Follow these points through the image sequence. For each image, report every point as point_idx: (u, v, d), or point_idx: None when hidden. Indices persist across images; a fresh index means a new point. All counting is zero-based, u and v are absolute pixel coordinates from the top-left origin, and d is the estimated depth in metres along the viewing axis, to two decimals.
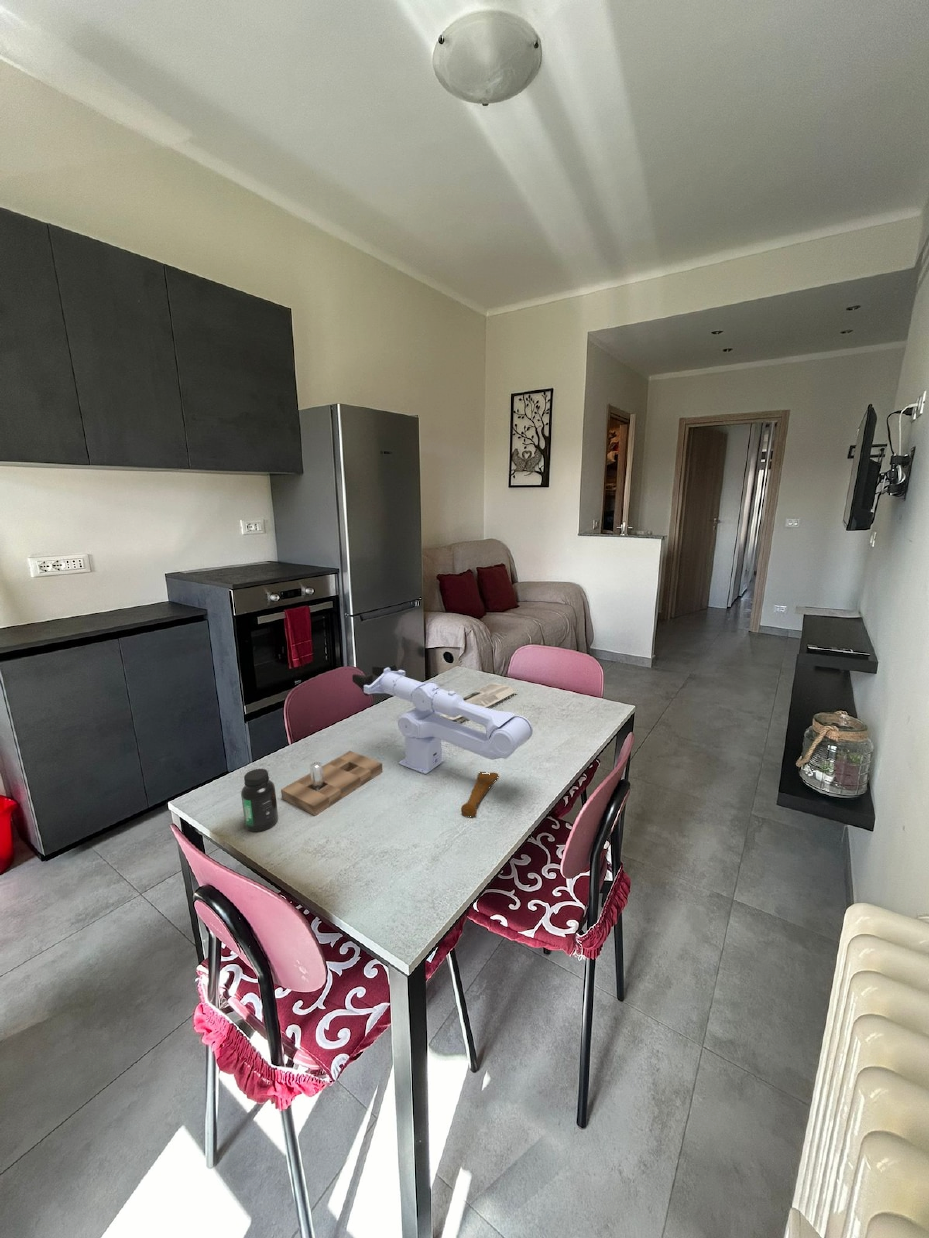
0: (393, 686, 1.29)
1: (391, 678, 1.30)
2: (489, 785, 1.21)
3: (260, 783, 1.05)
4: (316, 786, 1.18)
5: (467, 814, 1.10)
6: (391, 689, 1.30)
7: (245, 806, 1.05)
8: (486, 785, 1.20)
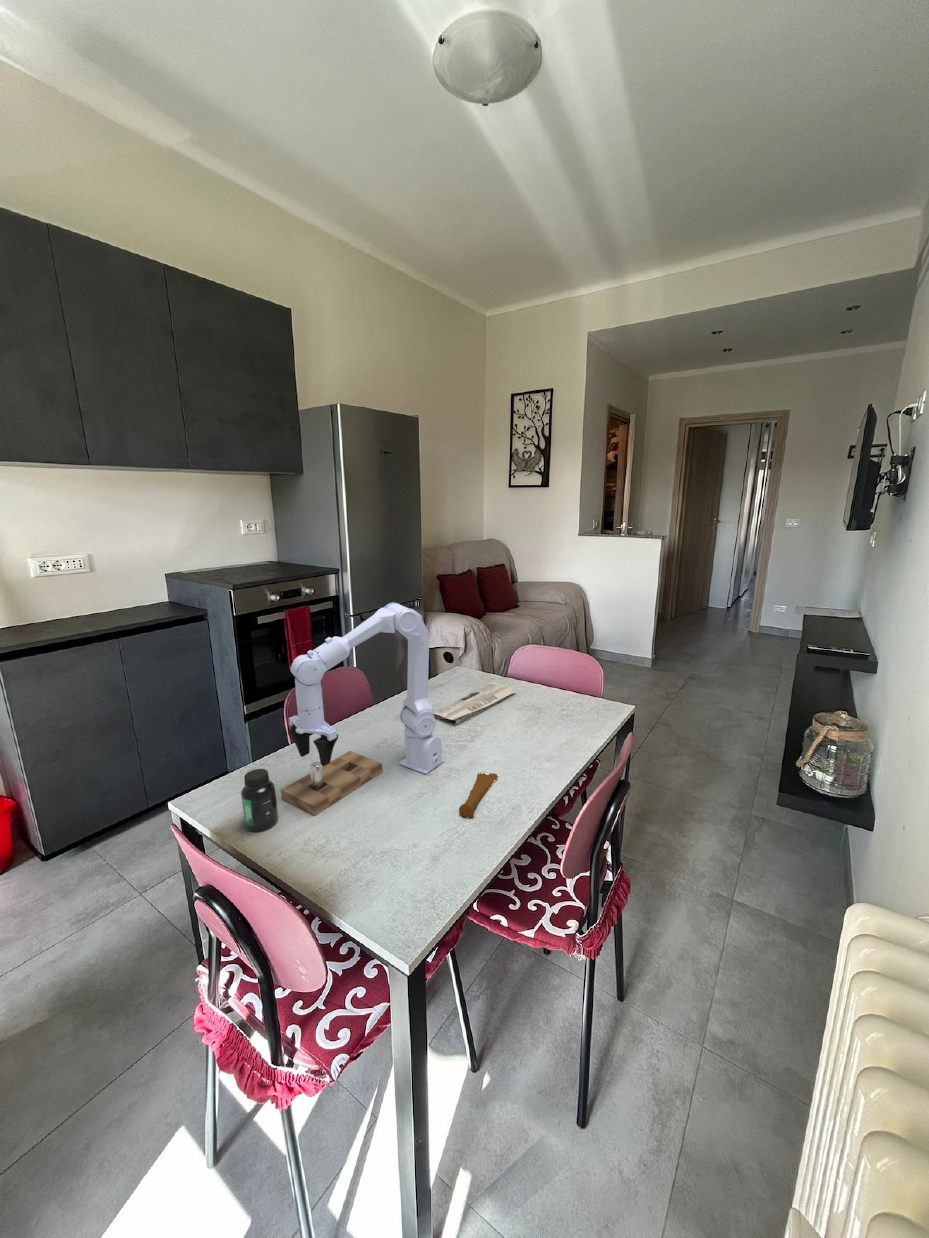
0: (314, 710, 1.12)
1: (307, 718, 1.12)
2: (488, 786, 1.21)
3: (260, 783, 1.05)
4: (316, 786, 1.18)
5: (465, 815, 1.10)
6: (318, 711, 1.13)
7: (245, 806, 1.05)
8: (485, 786, 1.20)
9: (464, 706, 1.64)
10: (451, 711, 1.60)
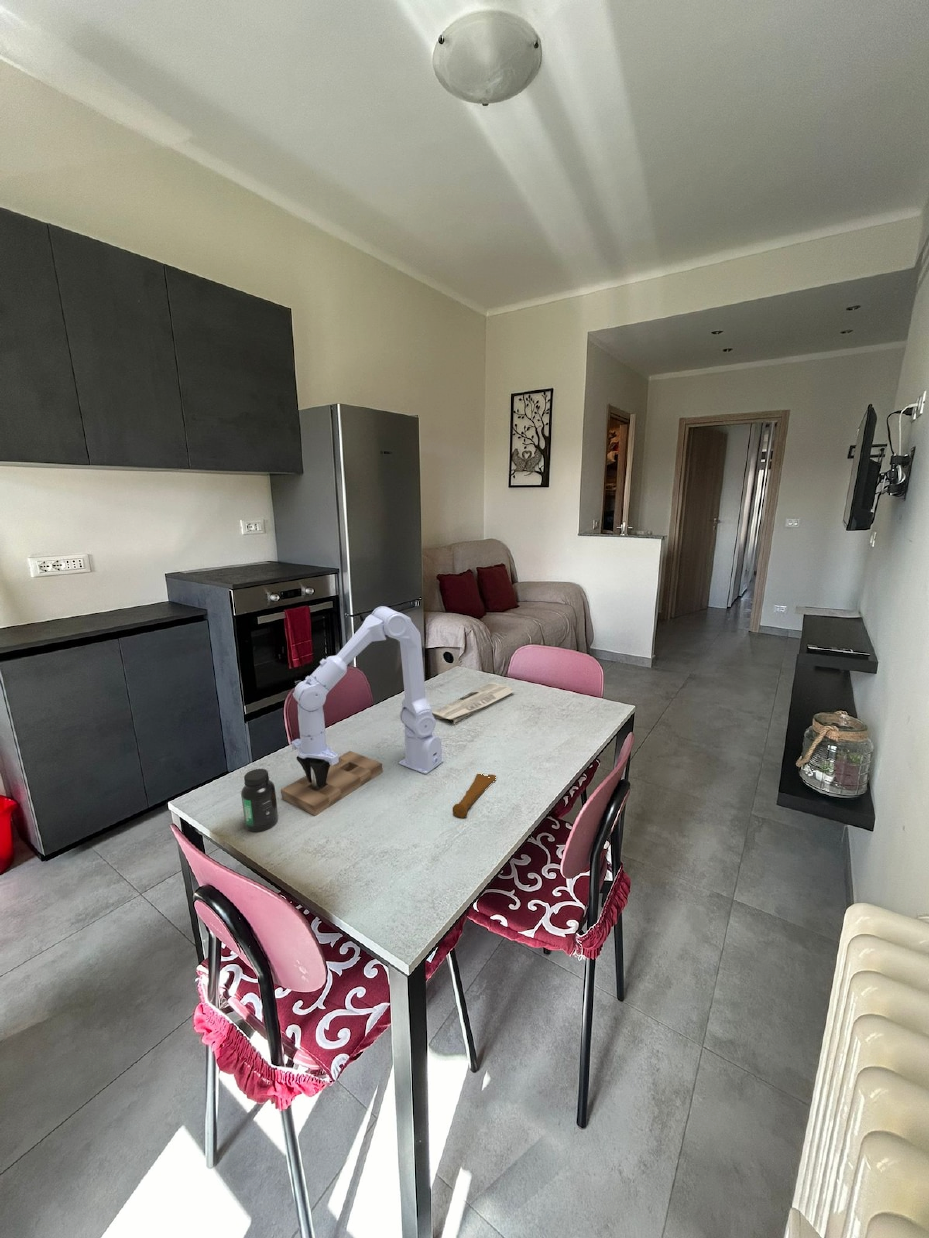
0: (316, 735, 1.13)
1: (309, 743, 1.13)
2: (485, 787, 1.20)
3: (260, 783, 1.05)
4: (316, 786, 1.18)
5: (458, 814, 1.10)
6: (321, 736, 1.14)
7: (245, 806, 1.05)
8: (482, 787, 1.20)
9: (463, 706, 1.64)
10: (450, 710, 1.60)
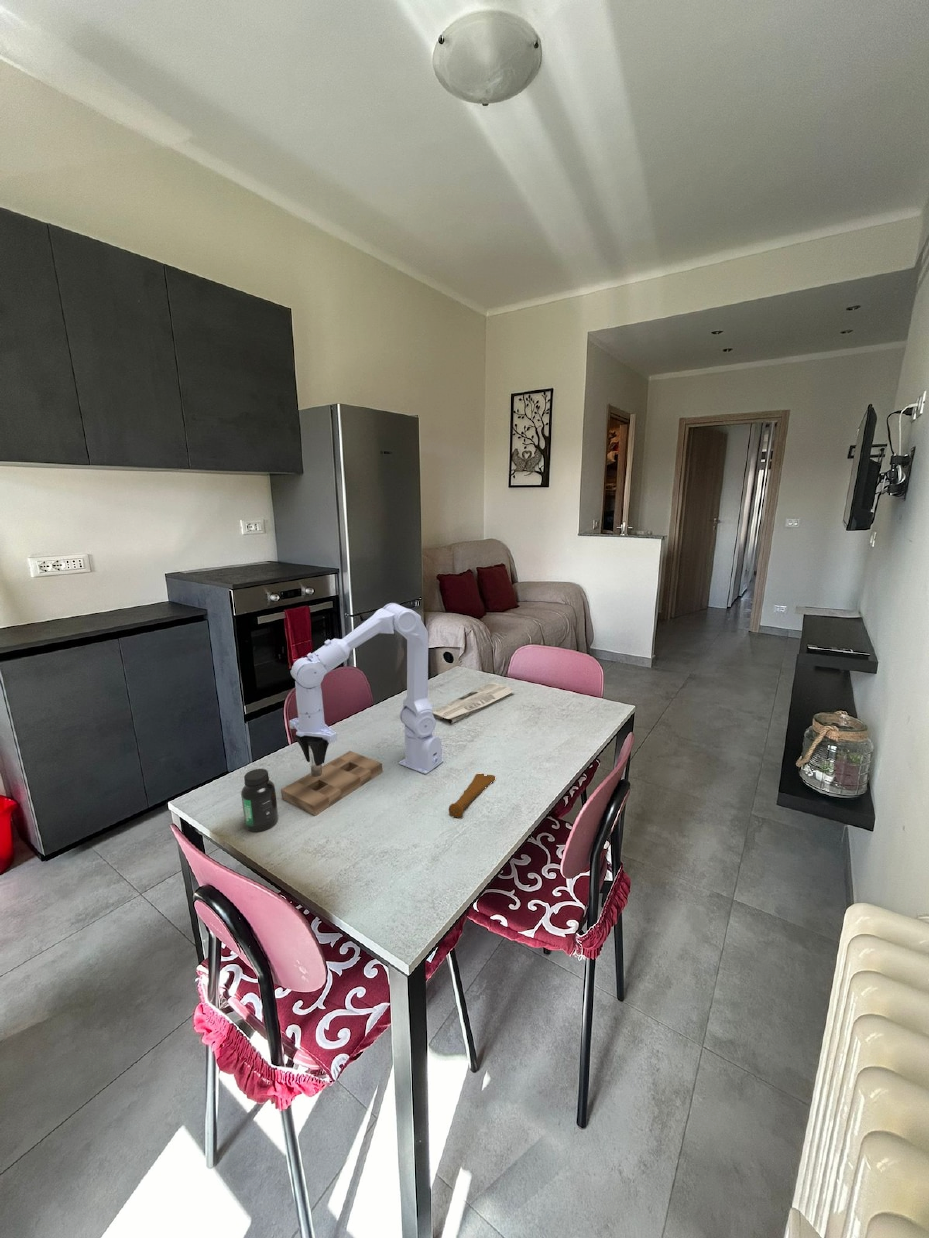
0: (314, 713, 1.12)
1: (307, 721, 1.12)
2: (483, 787, 1.20)
3: (260, 783, 1.05)
4: (314, 765, 1.16)
5: (454, 814, 1.10)
6: (319, 714, 1.13)
7: (245, 806, 1.05)
8: (480, 787, 1.20)
9: (461, 705, 1.64)
10: (448, 710, 1.61)
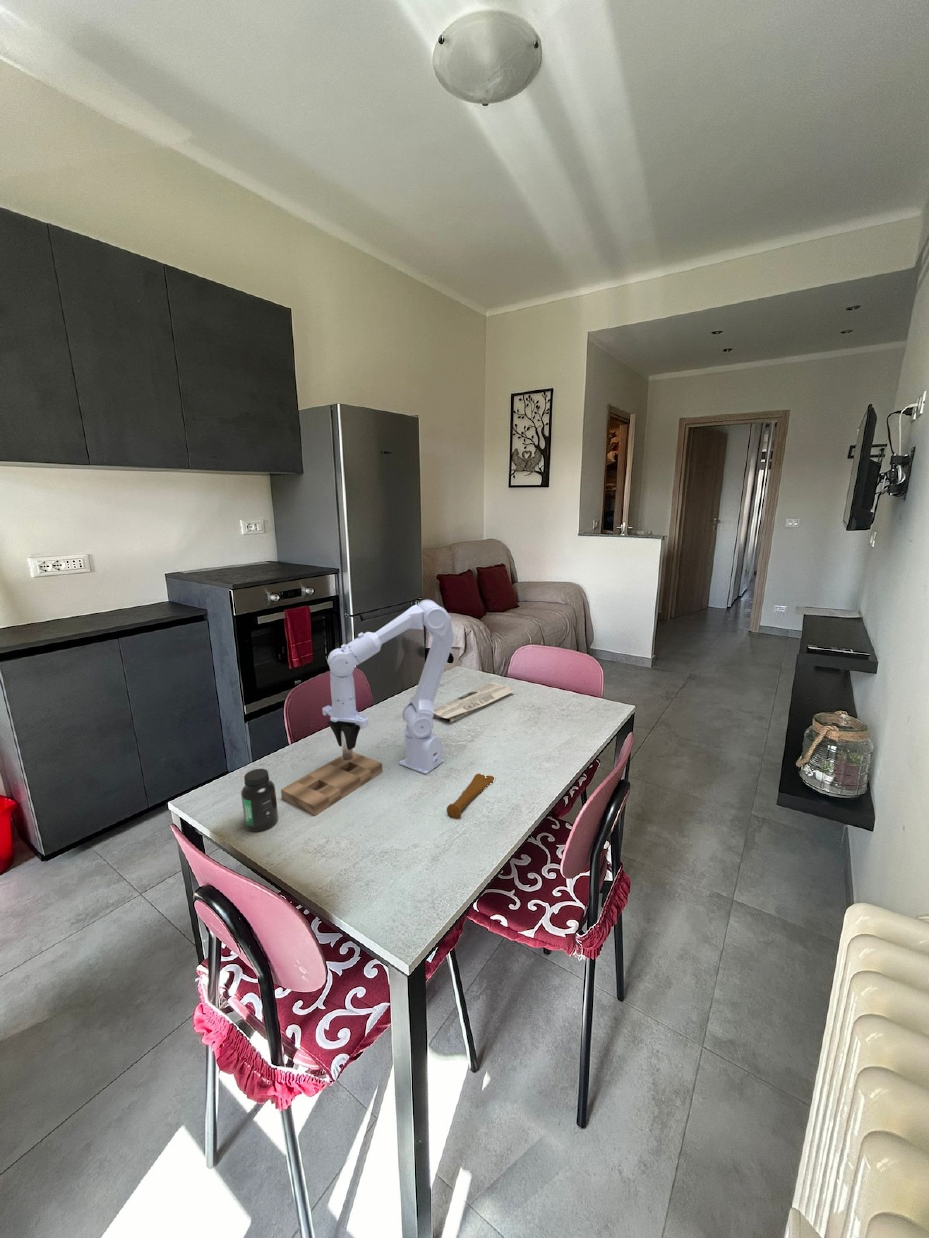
0: (348, 700, 1.20)
1: (341, 707, 1.20)
2: (482, 788, 1.20)
3: (260, 783, 1.05)
4: (346, 749, 1.24)
5: (452, 815, 1.10)
6: (351, 701, 1.21)
7: (245, 806, 1.05)
8: (478, 788, 1.19)
9: (460, 705, 1.64)
10: (447, 709, 1.61)
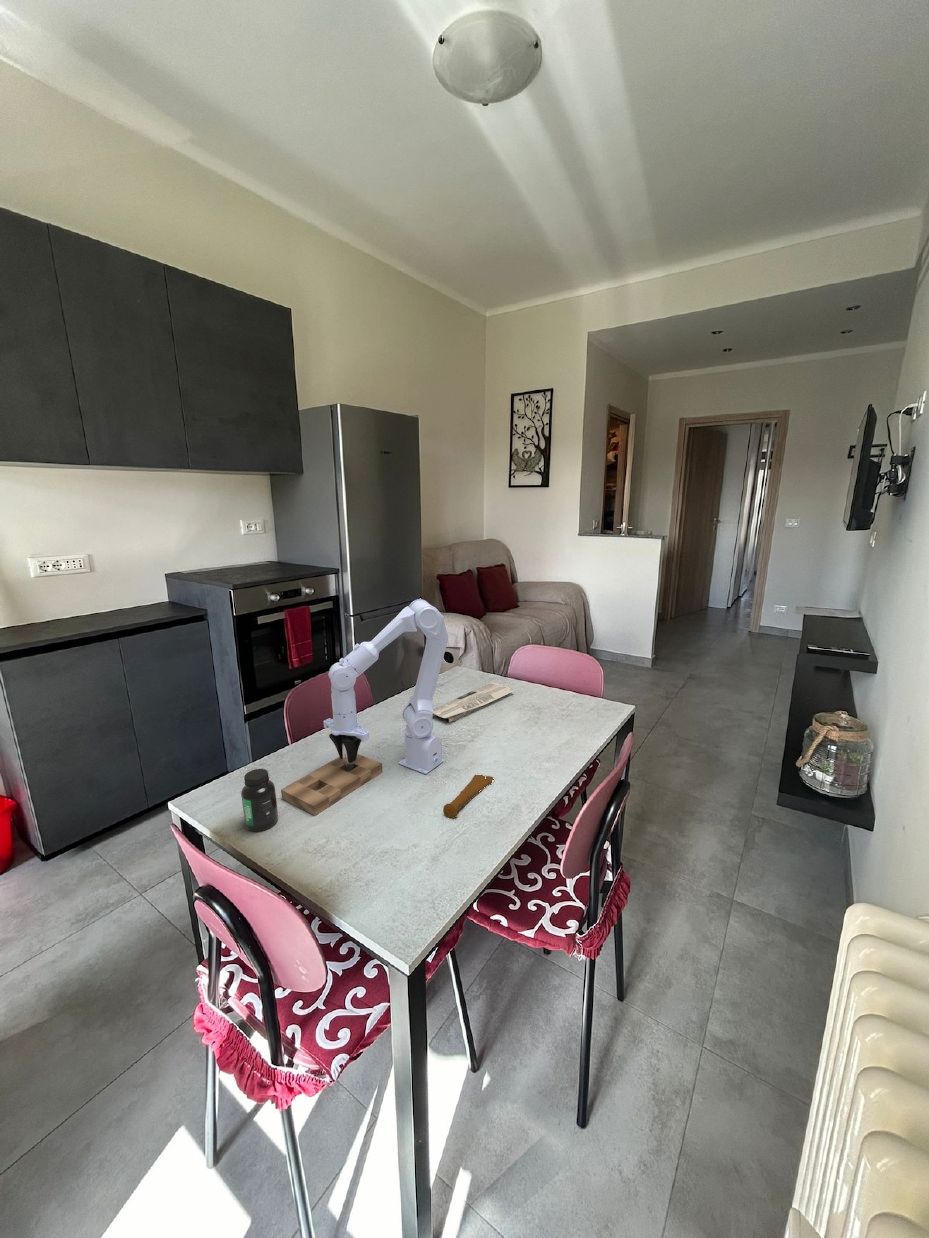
0: (349, 713, 1.21)
1: (342, 721, 1.21)
2: (480, 788, 1.20)
3: (260, 783, 1.05)
4: (347, 762, 1.25)
5: (448, 814, 1.10)
6: (352, 714, 1.22)
7: (245, 806, 1.05)
8: (477, 788, 1.19)
9: (459, 705, 1.65)
10: (446, 709, 1.61)
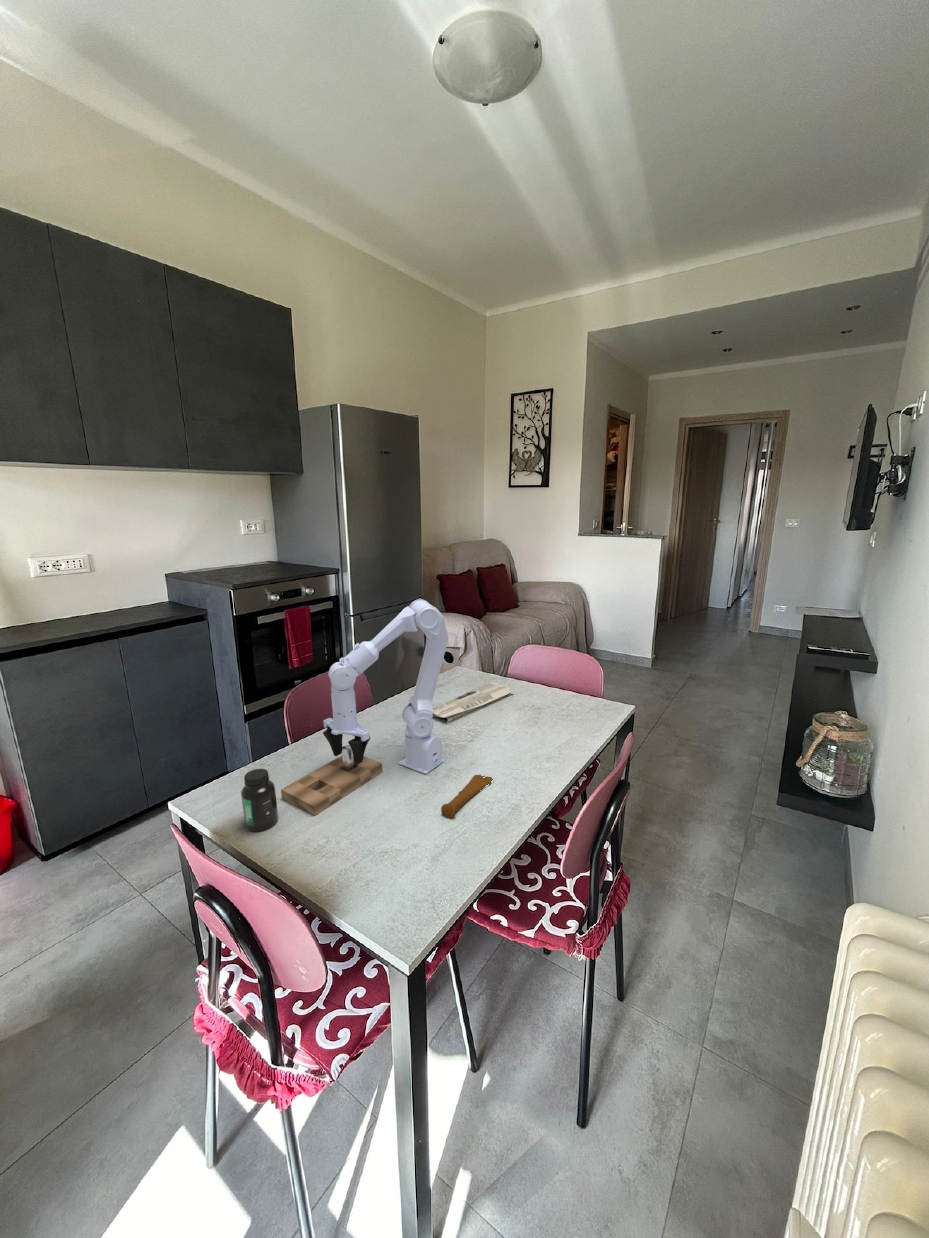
0: (349, 713, 1.21)
1: (342, 720, 1.21)
2: (479, 789, 1.19)
3: (260, 783, 1.05)
4: (347, 767, 1.26)
5: (446, 815, 1.10)
6: (352, 714, 1.22)
7: (245, 806, 1.05)
8: (475, 788, 1.19)
9: (458, 705, 1.65)
10: (445, 709, 1.62)
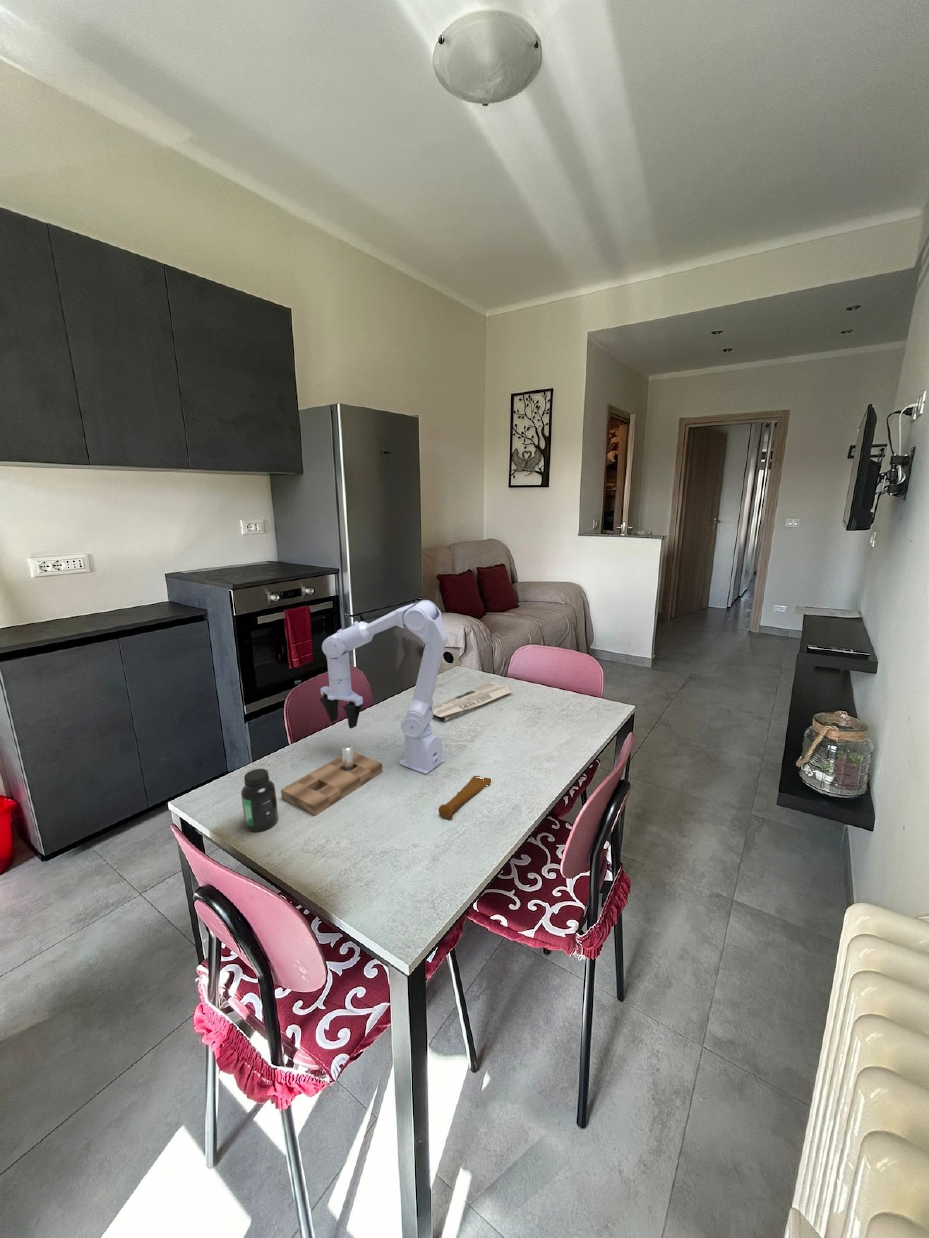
0: (343, 680, 1.30)
1: (337, 687, 1.30)
2: (477, 790, 1.19)
3: (260, 783, 1.05)
4: (347, 767, 1.26)
5: (443, 815, 1.10)
6: (347, 681, 1.31)
7: (245, 806, 1.05)
8: (474, 789, 1.19)
9: (456, 704, 1.65)
10: (443, 708, 1.62)
